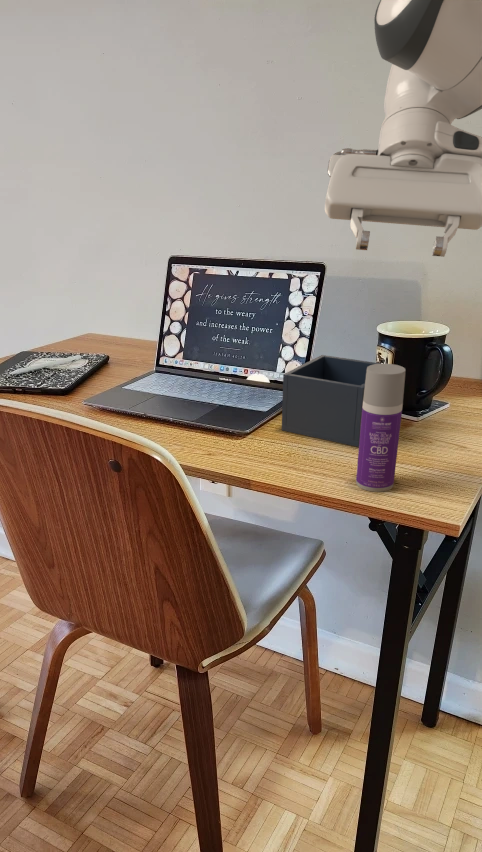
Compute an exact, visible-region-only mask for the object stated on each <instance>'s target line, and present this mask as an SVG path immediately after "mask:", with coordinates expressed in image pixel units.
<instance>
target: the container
mask: <svg viewBox="0 0 482 852" xmlns="http://www.w3.org/2000/svg"><path fill="white" fill-rule="evenodd" d="M406 371H407V370H406V367H403V366H401V365H398V364H395V363H394V364H393V363H381V364H374V365H370V366H368V367H367V371H366V380H365V389H364V398H363V406H362V417H361V428H360V440H359V447H358V453H357V465H356V476H355V484H356V486H357V487H358V488H360V489H361V490H364V491H368V492H372V493H373V492H375V493H381V492H387V491H390V490H391V489H393V487H394V484H395V475H396V466H397V459H398V449H399V439H400V431H401V423H402V415H403V405H404V394H405V381H406Z"/></svg>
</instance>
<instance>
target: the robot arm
mask: <svg viewBox="0 0 482 852" xmlns="http://www.w3.org/2000/svg"><path fill="white" fill-rule="evenodd" d="M373 21H374V23H373V24H374V36H375V42H376V46H377V50H378V52H379V56H380V58H381V59H382V60H385V61H386V62H388V63H390V64H391V65H390V70H389V73H388V77H387V82H386V88H385V94H384V101H383V111H384V118H383V121H382V123H381V126H380V131H379V138H378V145H377V149H368V148H367V149H366V148H364V149H353V148H351V147H350V148H349V147H348V148H342V150H341V151H337V152H335V153H332V155H331V156H330V158H329V160H328V165H327V175H328V177H329V182H328V186H327V189H326V194H325V201H324V212H325V214H326V216H327V217H328V218H329V219H331V220H343V221H350V224H349V227H350V229H351V231H352V233H353V235H354V237H355V238H356V243H355V250H356V251H357V250H359V251H368V249H369V242H370V235H371V231H370V230H364V227H363V224H362V222H370V223H382V224H393V225H395V224H396V225H409V226H419V227H420V226H421V227H422V226H423V227H436V228H443V233H444V234H443V236H435V240H434V242H433V244H432V252H431V256H433V257H443V258H444V257H445V256H446V254H447V251H448V245H449V243H450V242H451V240H452V239H453V238H454V237H455V235H456V233H457V231H458V229H460V230H472V231H473V230H474V231H475V230H476V231H477V230H479V229H481V228H482V136H481V135H477V134H474V133H473V132H472V133H471V132H468V131H466V130H464V129H461V128H458V127H456V126H454V125H452V123H453V122H454V121H455V120H462V119H465V118H467V117H469V116H471V115H473V114H475V113H476V112H478V111H480V110H482V0H379V2H378V3H377V6H376V9H375V14H374V19H373Z"/></svg>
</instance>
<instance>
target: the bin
mask: <svg viewBox="0 0 482 852" xmlns="http://www.w3.org/2000/svg"><path fill="white" fill-rule="evenodd" d="M374 364H382V363H381V362H375V361H374V362H373V361H366V360H359V359H352V358H346V357H339V356H332V355H325V354H320V355H319V356H317V357H315V358H313V359H311V360H309V361H307V362H305V363H303V364H301V365H299V366H297V367H294V368H293V369H291V370H289V371H288V372H284V373H282V374H283V375H282V401H281V402H282V406H281V407H282V409H281V431H283V432H288V433H292V434H297V435H302V436H307V437H311V438H315V439H320V440H325V441H330V442H334V443H339V444H343V445H346V446H347V445H348V446H352V447H357V448H359V440H360V428H361V417H362V406H363V398H364V389H365V380H366V371H367V367H368V366H370V365H374Z"/></svg>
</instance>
